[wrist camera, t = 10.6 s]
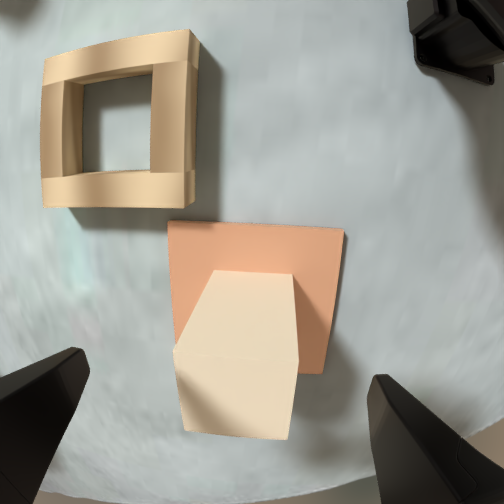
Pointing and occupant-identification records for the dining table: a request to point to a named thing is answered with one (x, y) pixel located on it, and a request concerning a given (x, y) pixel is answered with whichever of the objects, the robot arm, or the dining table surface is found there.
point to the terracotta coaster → (261, 271)
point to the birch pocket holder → (161, 134)
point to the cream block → (239, 357)
